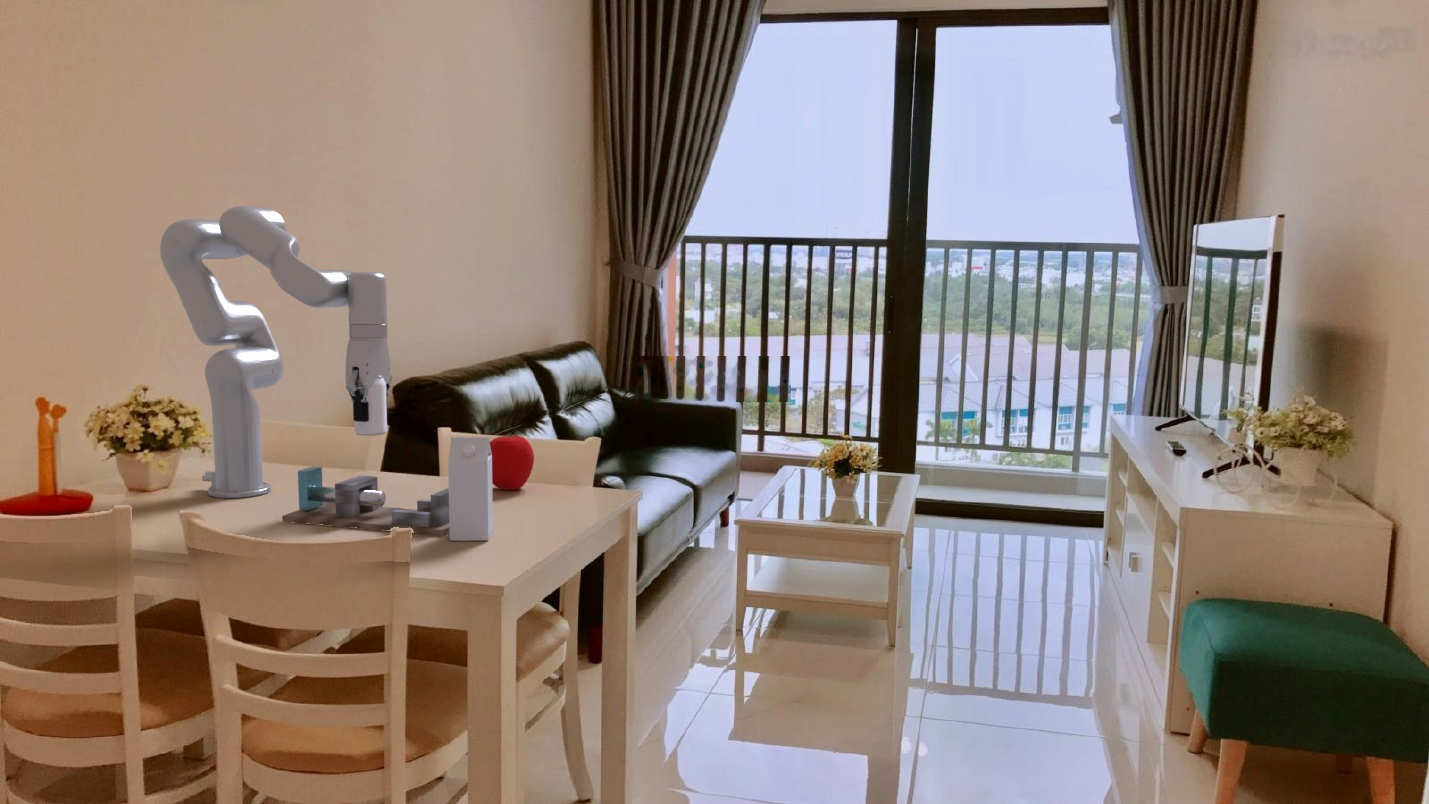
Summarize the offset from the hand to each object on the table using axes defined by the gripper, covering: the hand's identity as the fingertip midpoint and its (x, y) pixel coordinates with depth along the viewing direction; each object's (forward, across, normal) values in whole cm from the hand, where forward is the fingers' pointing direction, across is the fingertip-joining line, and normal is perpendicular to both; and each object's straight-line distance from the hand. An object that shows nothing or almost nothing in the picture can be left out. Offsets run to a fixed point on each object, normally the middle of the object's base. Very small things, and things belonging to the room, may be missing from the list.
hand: (370, 417), depth 227 cm
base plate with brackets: (+19, +12, +9) cm, 23 cm away
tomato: (+19, -23, +20) cm, 36 cm away
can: (+3, 0, 0) cm, 3 cm away
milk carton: (+19, +17, +31) cm, 40 cm away
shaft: (+17, +11, +1) cm, 20 cm away
